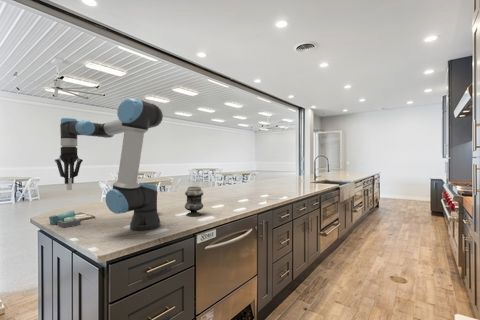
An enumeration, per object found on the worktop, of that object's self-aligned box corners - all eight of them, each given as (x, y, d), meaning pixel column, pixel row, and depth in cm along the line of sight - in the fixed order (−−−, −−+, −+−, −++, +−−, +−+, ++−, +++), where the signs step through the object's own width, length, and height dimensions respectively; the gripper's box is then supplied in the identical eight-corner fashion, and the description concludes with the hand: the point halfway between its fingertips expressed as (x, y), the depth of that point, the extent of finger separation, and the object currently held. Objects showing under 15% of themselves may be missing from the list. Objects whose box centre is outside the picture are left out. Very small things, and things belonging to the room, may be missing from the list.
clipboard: (95, 218, 149) (95, 215, 149) (65, 223, 136) (65, 220, 136) (80, 213, 161) (80, 211, 161) (51, 218, 148) (51, 216, 148)
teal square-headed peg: (74, 210, 143) (52, 217, 133) (76, 217, 143) (54, 224, 133) (71, 210, 145) (48, 216, 135) (72, 217, 145) (50, 224, 135)
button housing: (80, 224, 134) (80, 220, 134) (63, 227, 128) (63, 223, 128) (74, 222, 139) (74, 218, 139) (57, 225, 132) (57, 220, 132)
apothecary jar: (201, 217, 153) (201, 188, 153) (182, 216, 153) (182, 188, 153) (204, 212, 165) (204, 186, 165) (187, 212, 165) (187, 186, 165)
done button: (75, 223, 134) (75, 217, 134) (66, 225, 130) (66, 219, 130) (71, 222, 136) (71, 216, 136) (62, 223, 133) (62, 218, 133)
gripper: (79, 147, 141) (79, 188, 141) (52, 146, 130) (52, 190, 130) (85, 146, 137) (85, 189, 137) (57, 145, 126) (57, 191, 126)
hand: (69, 189), depth 133 cm, fingers closed
